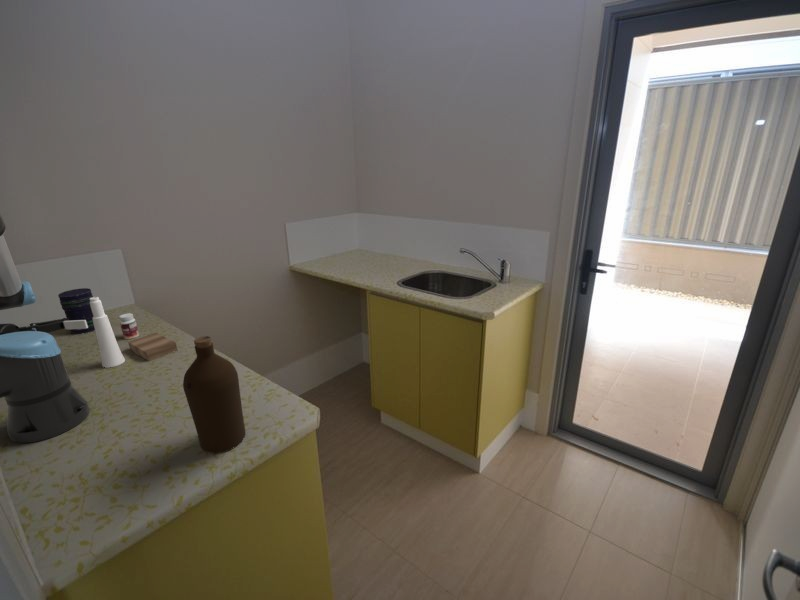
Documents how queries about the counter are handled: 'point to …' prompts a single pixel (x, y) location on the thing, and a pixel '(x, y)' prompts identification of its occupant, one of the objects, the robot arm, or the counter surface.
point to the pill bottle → (128, 326)
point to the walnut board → (152, 346)
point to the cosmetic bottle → (105, 336)
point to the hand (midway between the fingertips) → (71, 332)
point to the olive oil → (214, 399)
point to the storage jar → (78, 307)
